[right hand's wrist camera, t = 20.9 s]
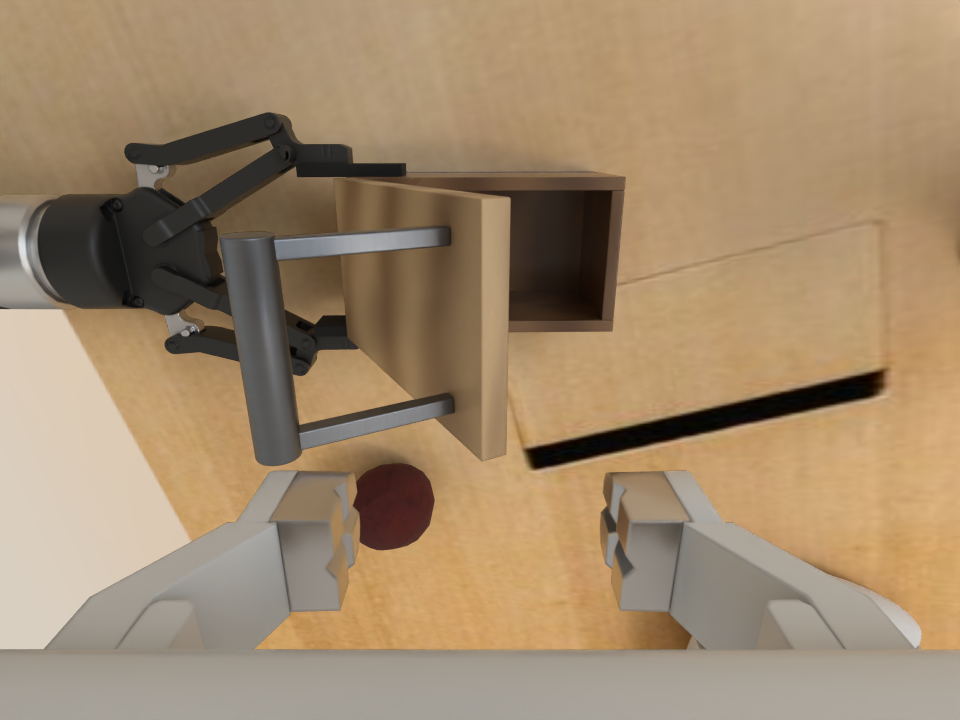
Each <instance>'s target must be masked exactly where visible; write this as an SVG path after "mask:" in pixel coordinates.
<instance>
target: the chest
mask: <svg viewBox="0 0 960 720" xmlns="http://www.w3.org/2000/svg"><path fill="white" fill-rule="evenodd" d="M346 178H356V179H365V180H373V181H381V182H389V183H397V184H405V185H414V186H422V187H430V188H438V189H446V190H455V191H463V192H471V193H479V194H487V195H495V196H504V197H509V198H510V199H511V207H510V266H509V324H508V332H600V331H613V318H614V306H615V294H616V283H617V271H618V260H619V248H620V236H621V225H622V213H623V202H624V191H623V190H624V189H625V179H626V178H625V177H622V176H616V175H609V174H603V173H597V172H406V175H404V176H360V177H346Z"/></svg>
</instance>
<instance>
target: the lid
mask: <svg viewBox="0 0 960 720" xmlns="http://www.w3.org/2000/svg"><path fill="white" fill-rule="evenodd" d="M333 180H334V192H335V203H336V214H337V225H338V232H333V233H318V234H303V235H288V236H275V235H274V234H273V233H271V232H262V231H250V232H236V233H228V234H224V235H222V236H220V238H219V239H220V245H221V251H222V257H223V263H224V269H225V275H226V281H227V288H228V294H229V300H230V306H231V312H232V318H233V324H234V330H235V336H236V342H237V348H238V355H239V361H240V367H241V373H242V379H243V385H244V391H245V397H246V403H247V409H248V415H249V422H250V428H251V434H252V440H253V446H254V452H255V458H256V460H257V462H258V463H260V464H262V465H266V466H278V465H284V464H287V463H290V462H292V461H294V460H296V459H297V458H299V457H300V455H301V454H302V450H304V449H308V448H312V447H317V446H321V445H325V444H329V443H333V442H337V441H341V440H345V439H350V438H354V437H358V436H362V435H366V434H370V433H374V432H378V431H383V430H387V429H391V428H395V427H399V426H403V425H407V424H411V423H416V422H420V421H424V420H428V419H432V418H435V419H436V420H437V421H439V422H440V423H441V424H442V425H443V426H444V427H445V428H446V429H447V430H448V431H449V432H450V433H452V434H453V435H454V436H455V437H456V438H457V439H458V440H459V441H460V442H461V443H462V444H463V445H464V446H466V447H467V448H468V449H469V450H470V451H471V452H472V453H473V454H474V455H475V456H476V457H477V458H479V459H480V460H481V461H486V460H489V459H493V458H496V457H499V456H503V455H506V441H507V382H508V324H509V266H510V207H511V199H510V198H509V197H504V196H495V195H487V194H479V193H471V192H463V191H455V190H446V189H438V188H430V187H422V186H414V185H405V184H397V183H389V182H381V181H373V180H365V179H356V178H334V179H333ZM330 256H340V258H341V270H342V281H343V292H344V303H345V314H346V325H347V336H348V338H349V339H350V340H351V341H352V342H353V343H354V344H355V345H356V346H358V347H359V348H360V349H361V350H362V351H363V352H364V353H365V354H366V355H367V356H368V357H369V358H370V359H372V360H373V361H374V362H375V363H376V364H377V365H378V366H379V367H380V368H381V369H382V370H383V371H385V372H386V373H387V374H388V375H389V376H390V377H391V378H392V379H393V380H394V381H395V382H396V383H397V384H399V385H400V386H401V387H402V388H403V389H404V390H405V391H406V392H407V393H408V394H409V395H410V396H412V397H413V398H414V399H415V400H410V401H406V402H401V403H397V404H392V405H388V406H383V407H379V408H374V409H370V410H365V411H361V412H356V413H352V414H347V415H343V416H338V417H334V418H329V419H325V420H320V421H316V422H311V423H307V424H302V425H299V419H298V411H297V403H296V396H295V388H294V380H293V372H292V365H291V357H290V349H289V341H288V334H287V326H286V318H285V311H284V303H283V295H282V287H281V280H280V272H279V264H278V261H284V260H296V259H307V258H319V257H330Z"/></svg>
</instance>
